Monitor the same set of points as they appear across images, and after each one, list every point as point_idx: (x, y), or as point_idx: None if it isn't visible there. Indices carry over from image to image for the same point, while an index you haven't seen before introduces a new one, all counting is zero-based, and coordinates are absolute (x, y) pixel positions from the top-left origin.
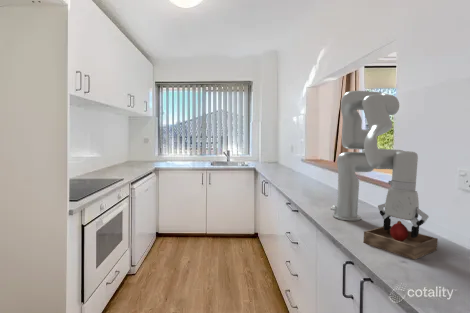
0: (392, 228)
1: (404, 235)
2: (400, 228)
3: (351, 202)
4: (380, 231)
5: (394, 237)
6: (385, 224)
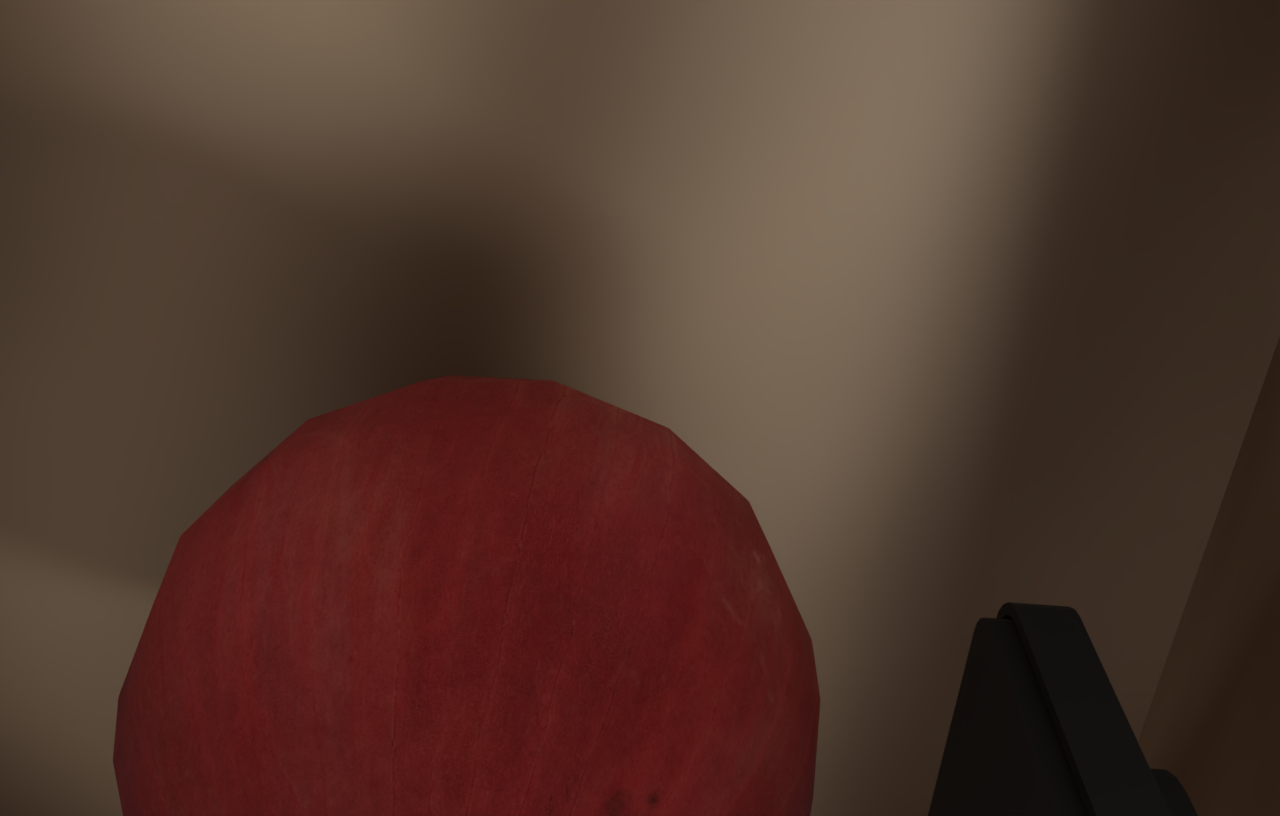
0: (643, 624)
1: (175, 561)
2: (249, 722)
3: None
4: (1226, 743)
5: (534, 380)
6: (1085, 783)
